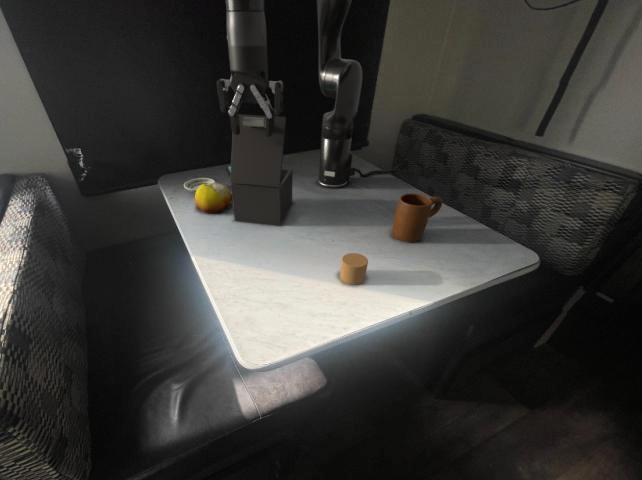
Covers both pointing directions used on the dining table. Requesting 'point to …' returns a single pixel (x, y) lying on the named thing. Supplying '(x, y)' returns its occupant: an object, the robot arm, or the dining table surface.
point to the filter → (353, 268)
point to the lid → (257, 152)
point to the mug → (413, 216)
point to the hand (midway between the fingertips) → (253, 134)
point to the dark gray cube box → (263, 201)
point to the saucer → (196, 183)
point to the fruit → (212, 198)
